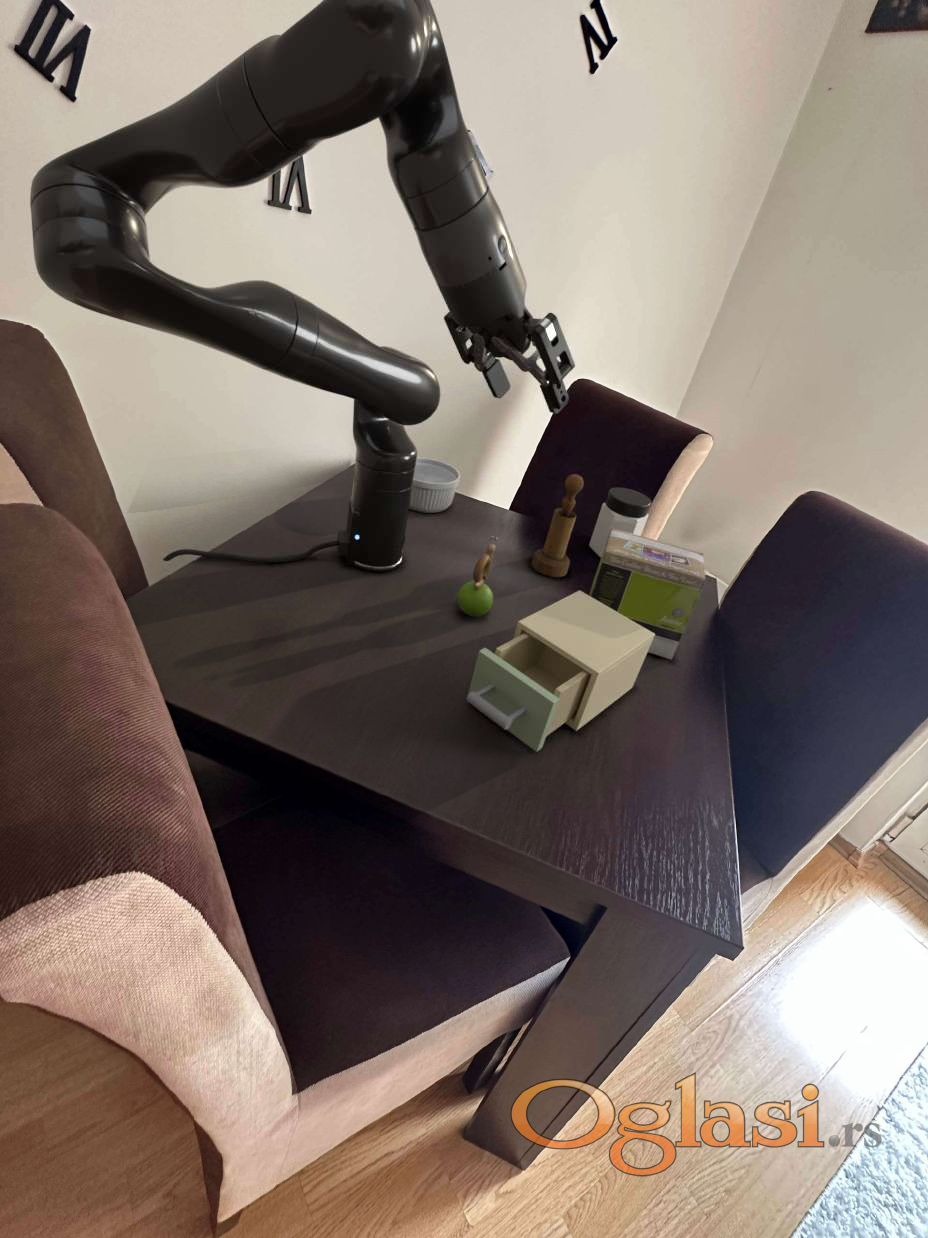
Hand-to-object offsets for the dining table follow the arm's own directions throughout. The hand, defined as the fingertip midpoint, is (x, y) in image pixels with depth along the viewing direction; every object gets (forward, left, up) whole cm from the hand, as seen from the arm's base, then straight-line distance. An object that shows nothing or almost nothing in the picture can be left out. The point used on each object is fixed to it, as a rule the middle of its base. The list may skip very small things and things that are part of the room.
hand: (530, 400), depth 70 cm
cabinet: (+14, -4, -37) cm, 39 cm away
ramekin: (+2, +53, -37) cm, 64 cm away
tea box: (+29, +9, -37) cm, 48 cm away
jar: (+38, +36, -37) cm, 64 cm away
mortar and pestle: (+22, +28, -37) cm, 51 cm away
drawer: (+5, -10, -36) cm, 37 cm away
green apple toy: (+4, +13, -37) cm, 39 cm away
